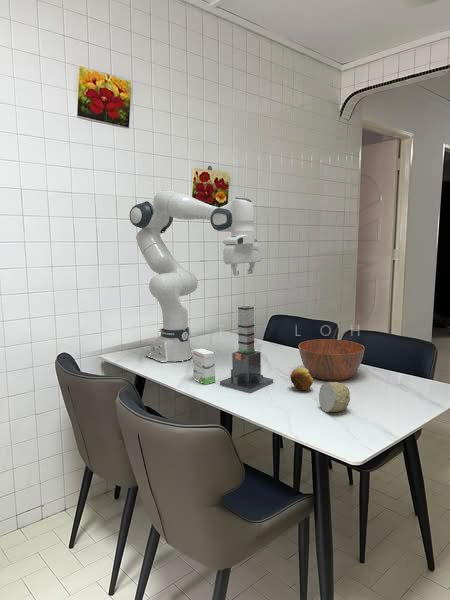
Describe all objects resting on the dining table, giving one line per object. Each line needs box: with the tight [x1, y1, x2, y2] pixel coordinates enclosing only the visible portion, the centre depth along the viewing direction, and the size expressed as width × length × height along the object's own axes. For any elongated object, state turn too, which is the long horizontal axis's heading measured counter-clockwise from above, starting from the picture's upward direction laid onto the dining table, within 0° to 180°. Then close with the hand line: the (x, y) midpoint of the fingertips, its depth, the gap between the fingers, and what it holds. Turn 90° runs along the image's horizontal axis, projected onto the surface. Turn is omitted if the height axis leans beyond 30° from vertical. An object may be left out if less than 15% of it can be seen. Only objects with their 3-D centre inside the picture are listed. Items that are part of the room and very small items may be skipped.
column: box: [237, 305, 255, 355], centre depth 160 cm, size 4×4×18 cm
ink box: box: [192, 348, 216, 385], centre depth 166 cm, size 9×5×12 cm, turn 35°
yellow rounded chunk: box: [318, 381, 351, 413], centre depth 136 cm, size 10×10×10 cm
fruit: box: [289, 366, 314, 392], centre depth 155 cm, size 8×8×8 cm
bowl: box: [297, 338, 365, 382], centre depth 172 cm, size 25×25×11 cm
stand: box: [219, 350, 274, 394], centre depth 162 cm, size 14×14×12 cm
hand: (243, 274), depth 176 cm, fingers open, 8 cm apart
